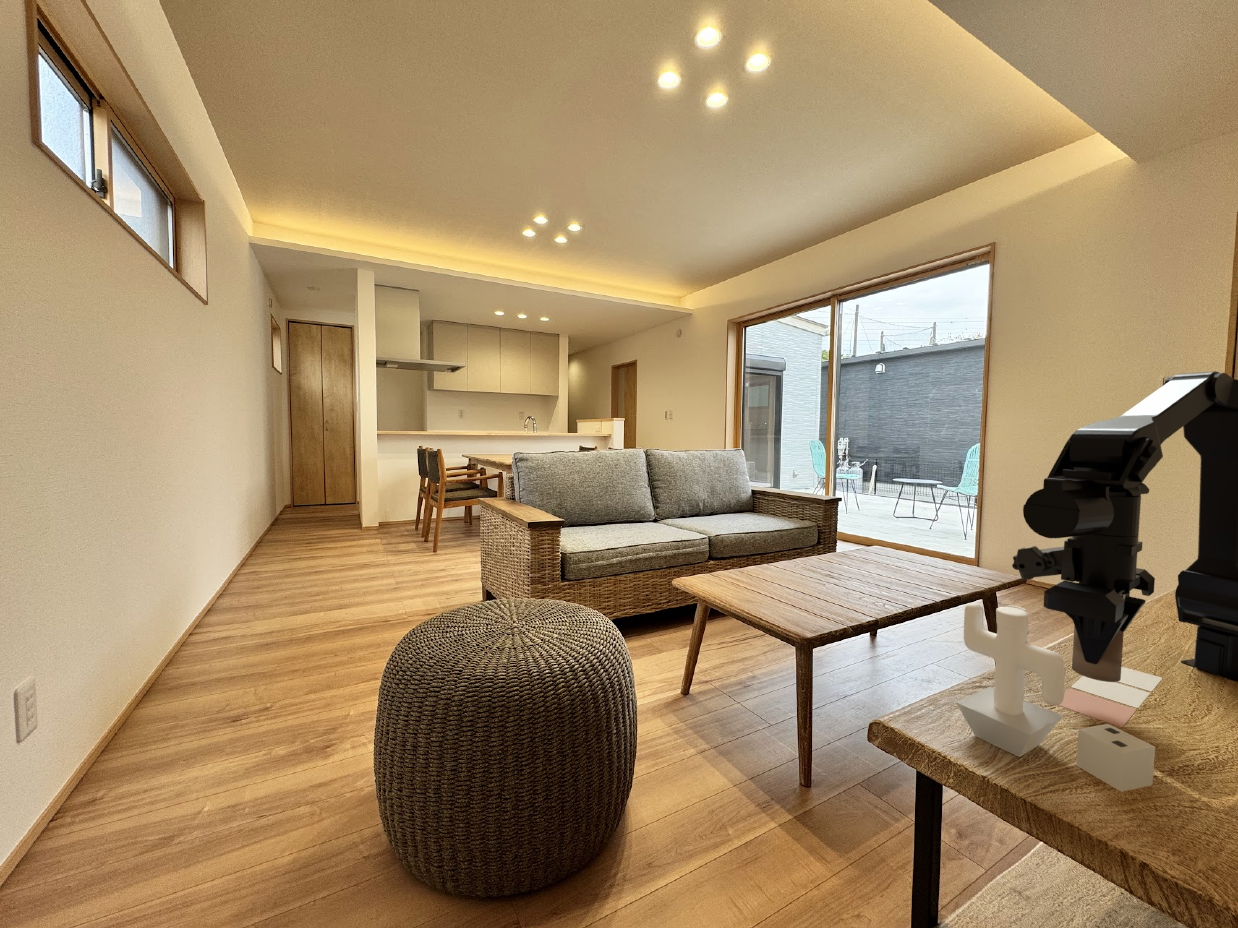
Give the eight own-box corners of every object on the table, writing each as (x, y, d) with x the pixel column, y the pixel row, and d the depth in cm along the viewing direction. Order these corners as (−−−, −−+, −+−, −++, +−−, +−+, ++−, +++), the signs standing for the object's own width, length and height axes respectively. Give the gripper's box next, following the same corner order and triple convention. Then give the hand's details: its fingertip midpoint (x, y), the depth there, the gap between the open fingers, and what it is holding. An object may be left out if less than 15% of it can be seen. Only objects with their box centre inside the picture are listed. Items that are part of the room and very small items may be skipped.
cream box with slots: (1105, 760, 54) (1108, 722, 54) (1152, 785, 50) (1155, 745, 50) (1076, 765, 53) (1078, 727, 53) (1121, 792, 50) (1124, 751, 49)
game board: (1094, 660, 77) (1094, 657, 77) (1172, 681, 71) (1172, 678, 71) (1041, 705, 65) (1041, 701, 65) (1129, 736, 58) (1130, 732, 58)
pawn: (1089, 663, 66) (1093, 605, 66) (1130, 679, 62) (1134, 617, 61) (1062, 666, 65) (1066, 608, 65) (1101, 683, 61) (1105, 620, 60)
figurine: (1041, 775, 52) (1049, 629, 51) (944, 727, 60) (949, 601, 59) (1074, 753, 55) (1082, 616, 54) (978, 711, 63) (983, 591, 62)
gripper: (1048, 515, 74) (1042, 621, 75) (995, 530, 64) (989, 653, 65) (1159, 527, 65) (1150, 647, 66) (1118, 547, 54) (1109, 690, 55)
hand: (1097, 657), depth 63 cm, fingers closed on pawn, 4 cm apart
